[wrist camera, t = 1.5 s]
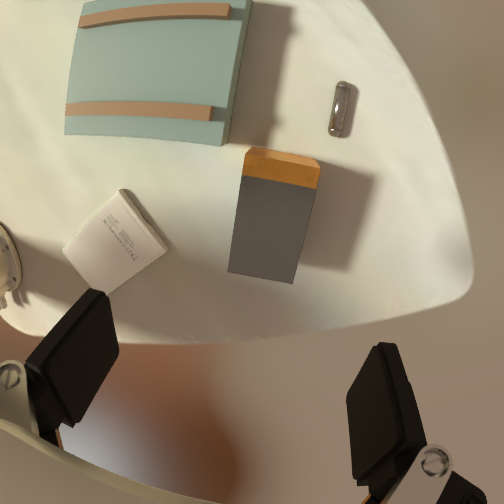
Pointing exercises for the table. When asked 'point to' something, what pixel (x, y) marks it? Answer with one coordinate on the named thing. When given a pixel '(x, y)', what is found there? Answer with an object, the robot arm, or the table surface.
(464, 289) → the table surface
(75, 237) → the external hard drive
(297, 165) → the block
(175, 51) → the stand
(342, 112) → the grey metal rounded bar
